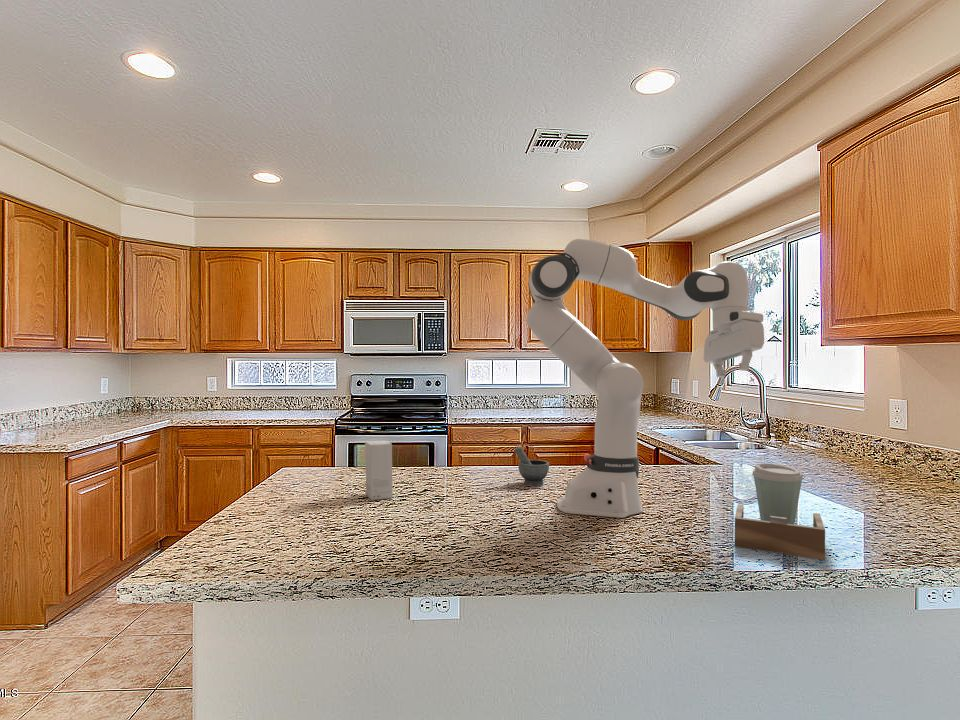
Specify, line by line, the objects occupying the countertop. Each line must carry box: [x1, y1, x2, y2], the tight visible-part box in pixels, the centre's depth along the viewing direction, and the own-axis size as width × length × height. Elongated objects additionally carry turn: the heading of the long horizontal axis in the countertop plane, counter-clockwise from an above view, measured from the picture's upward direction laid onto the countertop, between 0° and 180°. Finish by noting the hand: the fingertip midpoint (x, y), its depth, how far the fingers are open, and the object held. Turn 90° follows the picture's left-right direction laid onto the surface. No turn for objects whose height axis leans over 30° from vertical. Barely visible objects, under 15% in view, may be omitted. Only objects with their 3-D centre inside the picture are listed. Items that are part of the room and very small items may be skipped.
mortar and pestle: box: [514, 445, 550, 487], centre depth 174 cm, size 11×9×12 cm
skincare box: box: [364, 440, 394, 501], centre depth 157 cm, size 8×7×16 cm
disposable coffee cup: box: [751, 462, 804, 525], centre depth 128 cm, size 11×11×15 cm
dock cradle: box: [734, 503, 826, 561], centre depth 119 cm, size 13×16×7 cm
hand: (732, 373), depth 141 cm, fingers open, 8 cm apart
